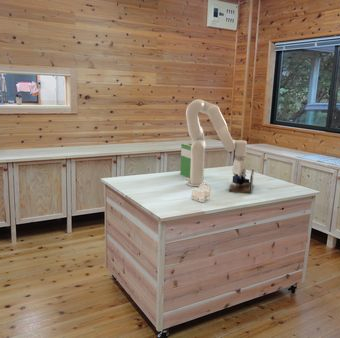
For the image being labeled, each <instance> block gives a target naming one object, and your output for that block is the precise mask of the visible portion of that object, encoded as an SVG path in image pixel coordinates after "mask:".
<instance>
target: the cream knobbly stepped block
mask: <svg viewBox="0 0 340 338" xmlns="http://www.w3.org/2000/svg"><path fill="white" fill-rule="evenodd" d="M202 190H203V191H202ZM190 197H191V199H192V200H195V201H198V202H200V203H205V201H206V200H207V199H208V198H210V197H211V186H209V185H206V184H205V185H203V184H200V186H198V189H197V190H191V196H190Z"/></svg>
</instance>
